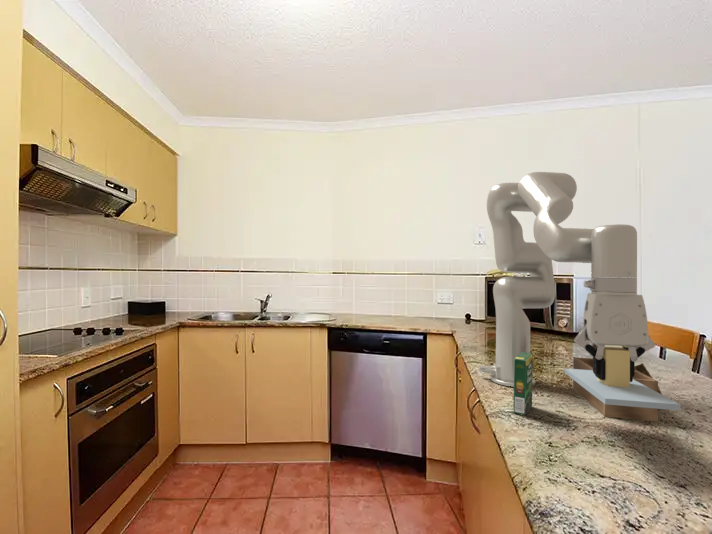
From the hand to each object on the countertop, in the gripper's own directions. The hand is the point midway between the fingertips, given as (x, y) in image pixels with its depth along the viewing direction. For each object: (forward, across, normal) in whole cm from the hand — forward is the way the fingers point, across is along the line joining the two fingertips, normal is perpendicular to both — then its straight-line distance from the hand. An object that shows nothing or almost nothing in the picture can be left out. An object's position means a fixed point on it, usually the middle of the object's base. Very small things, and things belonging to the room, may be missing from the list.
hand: (613, 378), depth 74 cm
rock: (+12, +20, +29) cm, 37 cm away
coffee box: (+12, -14, +12) cm, 22 cm away
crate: (+12, +9, +23) cm, 28 cm away
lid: (+2, 0, 0) cm, 2 cm away
